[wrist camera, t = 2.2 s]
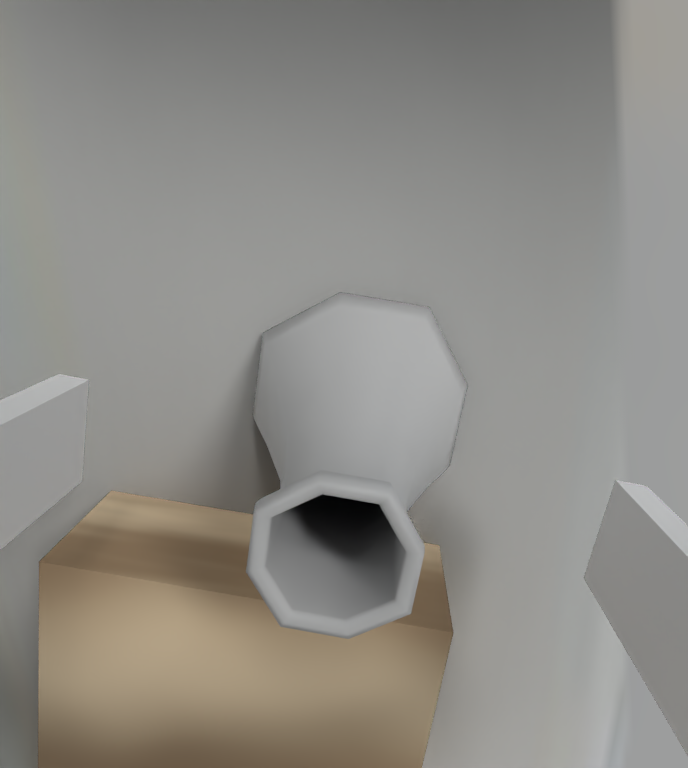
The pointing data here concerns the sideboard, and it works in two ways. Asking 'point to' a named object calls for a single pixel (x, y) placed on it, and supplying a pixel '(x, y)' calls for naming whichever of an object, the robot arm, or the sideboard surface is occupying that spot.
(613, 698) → the sideboard surface
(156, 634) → the oak block
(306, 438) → the flask
